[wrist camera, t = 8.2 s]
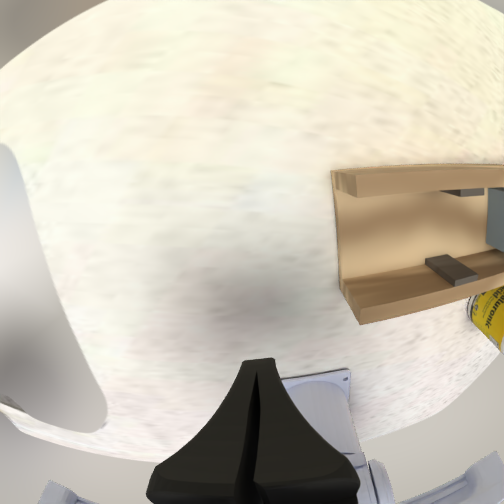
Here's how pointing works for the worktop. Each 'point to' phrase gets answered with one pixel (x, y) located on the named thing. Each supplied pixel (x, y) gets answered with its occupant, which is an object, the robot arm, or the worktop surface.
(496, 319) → the supplement bottle
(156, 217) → the worktop surface
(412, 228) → the chute
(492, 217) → the block
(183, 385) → the worktop surface
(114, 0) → the worktop surface
